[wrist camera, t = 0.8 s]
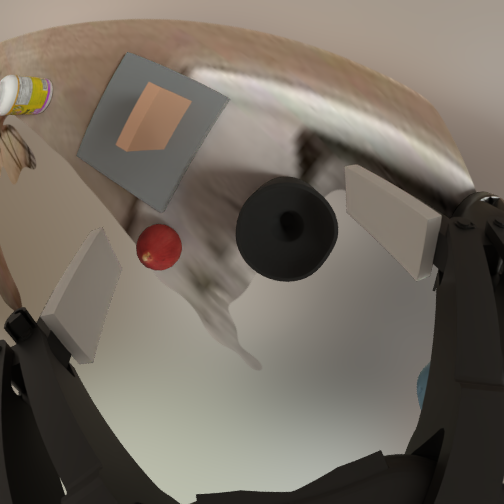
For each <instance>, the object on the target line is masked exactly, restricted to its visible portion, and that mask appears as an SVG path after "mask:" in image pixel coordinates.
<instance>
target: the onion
mask: <svg viewBox="0 0 504 504" xmlns="http://www.w3.org/2000/svg"><path fill="white" fill-rule="evenodd" d="M136 249H137V256H138V258H139V260H140V262H141V263H142V264H143V265H144V266H145V267H147V268H150V269H153V270H165V269H167V268H170V267H172V266H173V265H174V264H175V263H176V261H177V260H178V259H179V257H180V254H181V251H182V244H181V240H180V238H179V235H178V234H177V233H176V232H175V231H174V230H173V229H172V228H170V227H168V226H166V225H162V224H155V225H152V226H150V227H148V228H146V229H145V230H144V231H143V232H142V234H141V235H140V236H139V238H138V241H137V245H136Z"/></svg>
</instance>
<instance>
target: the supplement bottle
mask: <svg viewBox="0 0 504 504" xmlns="http://www.w3.org/2000/svg"><path fill="white" fill-rule="evenodd" d="M52 92H53V87H52V83H51V81H50V80H49V79H46V78H39V77H29V76H18V75H8V76H6V77H4V78H3V79H2V80H1V81H0V115H21V114H39V113H41V112H43V111H44V110H45V109H46V108H47V106H48V105H49V103H50V100H51V97H52Z"/></svg>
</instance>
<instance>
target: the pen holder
mask: <svg viewBox="0 0 504 504" xmlns="http://www.w3.org/2000/svg"><path fill="white" fill-rule="evenodd" d="M337 237H338V223H337V219H336V216H335V213H334V211H333V209H332V207H331V206H330V204H329V203H328V202H327V200H326V199H325V198H324V197H323V196H322V195H321V194H320V193H318V192H317V191H316V190H315V189H314V188H313V187H311V186H310V185H309V184H307V183H306V182H304V181H302V180H300V179H297V178H293V177H280V178H276V179H273V180H271V181H269V182H267V183H266V184H264V185H263V186H261V187H260V188H259V189H258V190H257V191H256V192H255V193H254V194H253V195H251V196H250V197H249V198H248V200H247V201H246V202H245V204H244V205H243V207H242V209H241V211H240V214H239V217H238V220H237V225H236V242H237V246H238V249H239V251H240V254H241V255H242V257H243V259H244V260H245V261H246V263H247V264H248V265H249V266H250V267H251V268H252V269H253V270H255V271H256V272H257V273H259V274H261V275H262V276H265V277H267V278H269V279H273V280H277V281H286V282H289V281H297V280H301V279H304V278H307V277H308V276H310V275H312V274H313V273H314V272H316V271H317V270H318V269H319V268H320V267H321V266H322V265H323V263H324V262H325V261H326V259H327V258H328V256H329V255H330V253H331V251H332V249H333V248H334V246H335V243H336V241H337Z"/></svg>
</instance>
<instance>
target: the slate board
mask: <svg viewBox="0 0 504 504" xmlns="http://www.w3.org/2000/svg"><path fill="white" fill-rule="evenodd" d="M148 82H151V83H153V84H156V85H158V86H160V87H163V88H165V89H167V90H170V91H172V92H174V93H176V94H178V95H181V96H183V97H185V98H187V99H189V100H190V101H192V102H191V104H190V105H189V107H188V109H187V110H186V112H185V114H184V115H183V117H182V119H181V120H180V122H179V124H178V125H177V127H176V129H175V131H174V132H173V134H172V136H171V138H170V139H169V141H168V143H167V145H166V147H165V148H164V149H161V150H143V151H129V152H126V151H125V150H123V149H122V148H120V147H118V146H117V145H116V143H117V141H118V138H119V136H120V134H121V132H122V130H123V128H124V126H125V124H126V122H127V120H128V118H129V116H130V114H131V112H132V110H133V108H134V107H135V105H136V103H137V101H138V99H139V98H140V96H141V94H142V92H143V91H144V89H145V87H146V85H147V84H148ZM229 100H230V99H229V98H228V97H226V96H224V95H222V94H220V93H218V92H217V91H215V90H213V89H211V88H209V87H207V86H205V85H203V84H201V83H199V82H197V81H195V80H193V79H191V78H189V77H186V76H184V75H182V74H180V73H178V72H176V71H173V70H171V69H169V68H167V67H164V66H162V65H160V64H157V63H155V62H152V61H150V60H148V59H145V58H142V57H140V56H137V55H135V54H132V53H129V52H127V53H126V55H125V56H124V58H123V60H122V61H121V63H120V65H119V66H118V68H117V70H116V72H115V73H114V75H113V77H112V79H111V81H110V82H109V84H108V86H107V88H106V90H105V92H104V94H103V96H102V98H101V100H100V102H99V104H98V106H97V108H96V110H95V112H94V114H93V117H92V119H91V121H90V123H89V126H88V128H87V130H86V133H85V135H84V138H83V140H82V143H81V145H80V148H79V150H78V153H77V157H79V158H80V159H82V160H83V161H85V162H86V163H88V164H89V165H90V166H92V167H93V168H95V169H96V170H98V171H99V172H101V173H102V174H104V175H105V176H106V177H108V178H109V179H111V180H112V181H114V182H115V183H117V184H118V185H120V186H121V187H123V188H124V189H126V190H127V191H129V192H130V193H132V194H133V195H135V196H136V197H137V198H139V199H140V200H142V201H143V202H145V203H146V204H148V205H149V206H151V207H152V208H154V209H155V210H157V211H158V212H160V213H162V212H163V211H165V209H166V207H167V205H168V203H169V201H170V199H171V197H172V195H173V194H174V192H175V190H176V188H177V186H178V184H179V182H180V181H181V179H182V177H183V175H184V173H185V172H186V170H187V168H188V166H189V165H190V163H191V161H192V159H193V158H194V156H195V154H196V153H197V151H198V149H199V148H200V146H201V144H202V143H203V141H204V139H205V138H206V136H207V134H208V133H209V131H210V130H211V128H212V126H213V125H214V123H215V122H216V120H217V119H218V117H219V115H220V114H221V112H222V111H223V109H224V108H225V106H226V105H227V103H228V102H229Z"/></svg>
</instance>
